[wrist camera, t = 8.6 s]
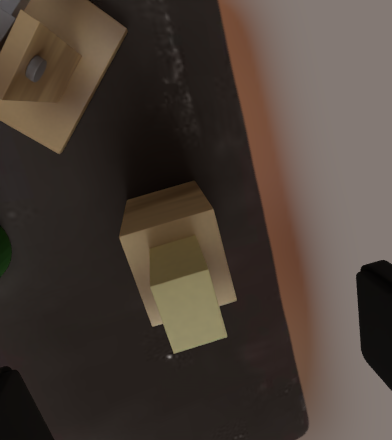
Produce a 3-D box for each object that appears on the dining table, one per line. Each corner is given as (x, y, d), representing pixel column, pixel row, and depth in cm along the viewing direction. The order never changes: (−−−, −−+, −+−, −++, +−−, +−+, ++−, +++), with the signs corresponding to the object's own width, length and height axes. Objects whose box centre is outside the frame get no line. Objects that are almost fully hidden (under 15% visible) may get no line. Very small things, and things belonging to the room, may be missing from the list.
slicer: (24, -44, 26) (-82, -175, 14) (128, 31, 28) (114, -25, 16) (-39, 94, 28) (-177, 85, 16) (62, 152, 31) (8, 181, 19)
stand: (126, 199, 33) (118, 236, 24) (194, 180, 33) (213, 208, 24) (150, 269, 36) (152, 327, 26) (213, 250, 36) (237, 300, 27)
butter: (149, 248, 24) (149, 286, 19) (195, 234, 24) (208, 268, 19) (168, 305, 26) (173, 354, 21) (211, 291, 26) (227, 337, 21)
